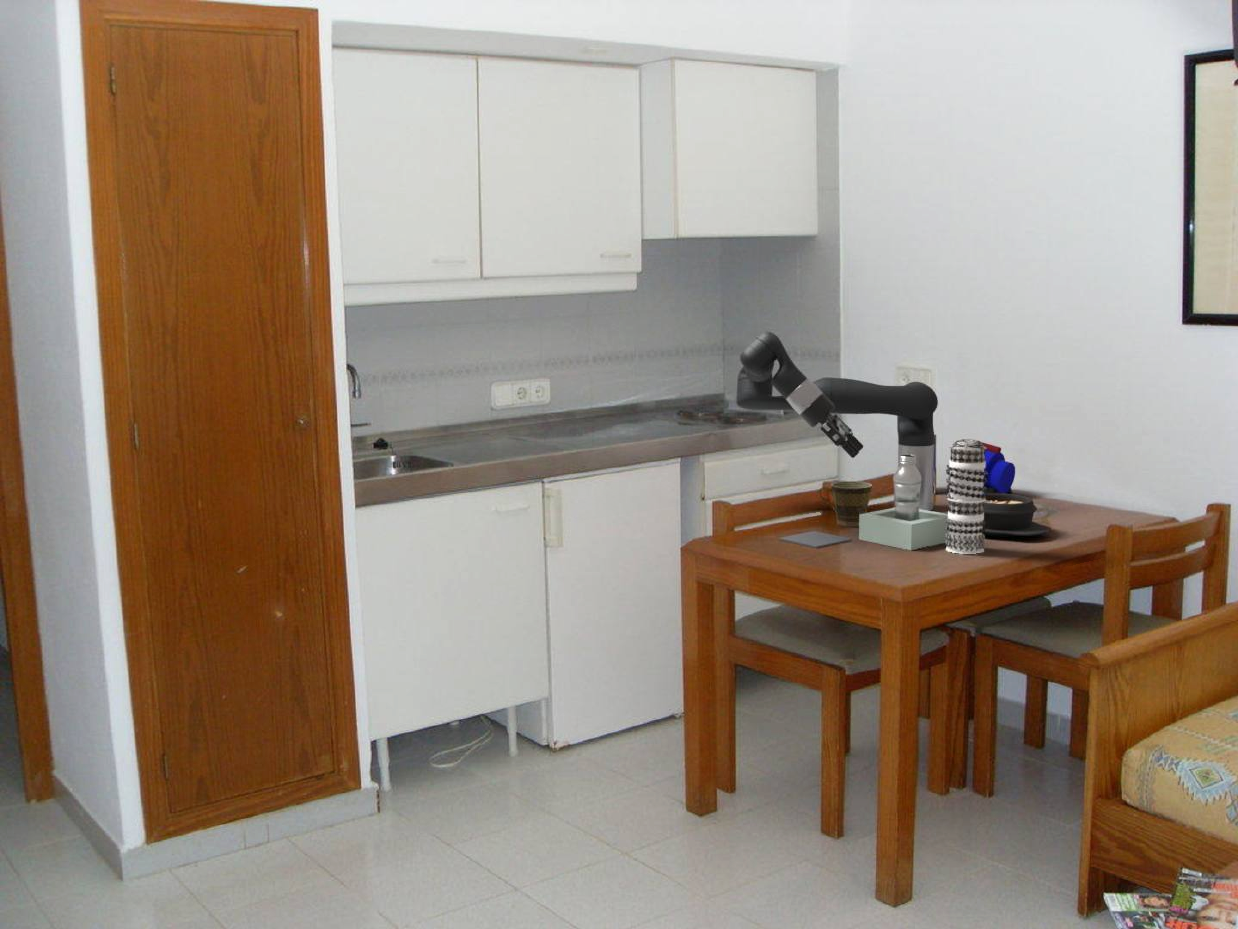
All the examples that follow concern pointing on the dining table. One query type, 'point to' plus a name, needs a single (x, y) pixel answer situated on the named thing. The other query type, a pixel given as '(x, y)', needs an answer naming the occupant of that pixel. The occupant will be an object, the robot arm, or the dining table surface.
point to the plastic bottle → (907, 489)
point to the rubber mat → (815, 539)
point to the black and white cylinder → (966, 497)
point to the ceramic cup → (849, 501)
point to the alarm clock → (998, 471)
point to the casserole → (1010, 516)
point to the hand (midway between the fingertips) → (858, 452)
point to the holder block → (903, 529)
